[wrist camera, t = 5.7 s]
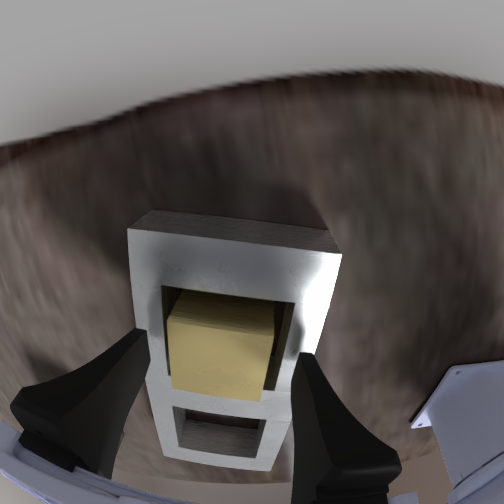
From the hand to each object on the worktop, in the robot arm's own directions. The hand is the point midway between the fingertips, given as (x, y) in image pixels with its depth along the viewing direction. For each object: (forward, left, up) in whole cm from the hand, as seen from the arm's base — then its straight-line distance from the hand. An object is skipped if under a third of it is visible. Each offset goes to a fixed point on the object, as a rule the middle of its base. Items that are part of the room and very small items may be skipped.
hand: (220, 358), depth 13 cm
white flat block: (0, +4, -4) cm, 6 cm away
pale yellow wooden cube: (0, 0, -4) cm, 4 cm away
